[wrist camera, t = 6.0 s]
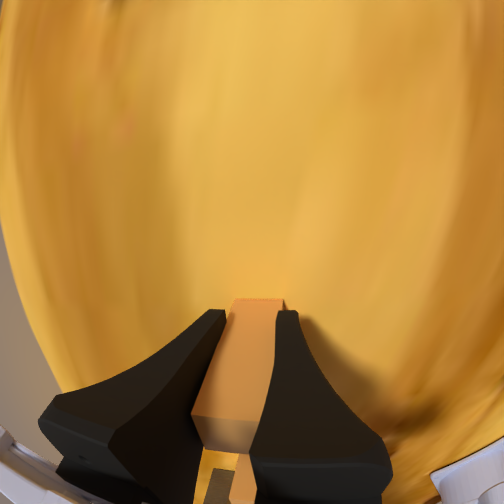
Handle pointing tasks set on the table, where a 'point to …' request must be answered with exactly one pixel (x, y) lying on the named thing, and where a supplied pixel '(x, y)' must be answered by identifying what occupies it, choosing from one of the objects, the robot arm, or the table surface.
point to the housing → (219, 487)
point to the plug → (238, 388)
